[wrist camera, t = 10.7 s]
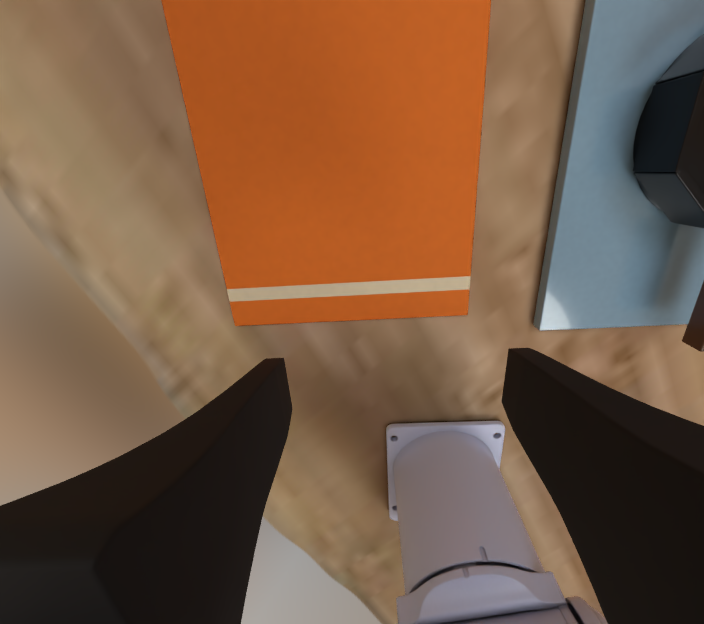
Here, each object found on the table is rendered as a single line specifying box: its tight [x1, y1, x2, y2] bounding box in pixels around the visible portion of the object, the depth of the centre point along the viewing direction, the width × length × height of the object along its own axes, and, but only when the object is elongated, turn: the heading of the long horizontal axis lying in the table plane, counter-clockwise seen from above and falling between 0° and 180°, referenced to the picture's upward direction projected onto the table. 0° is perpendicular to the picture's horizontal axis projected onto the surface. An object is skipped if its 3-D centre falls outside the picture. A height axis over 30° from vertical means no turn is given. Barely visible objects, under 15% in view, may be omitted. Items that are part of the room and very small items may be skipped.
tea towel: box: [162, 0, 491, 326], centre depth 16 cm, size 20×14×1 cm
